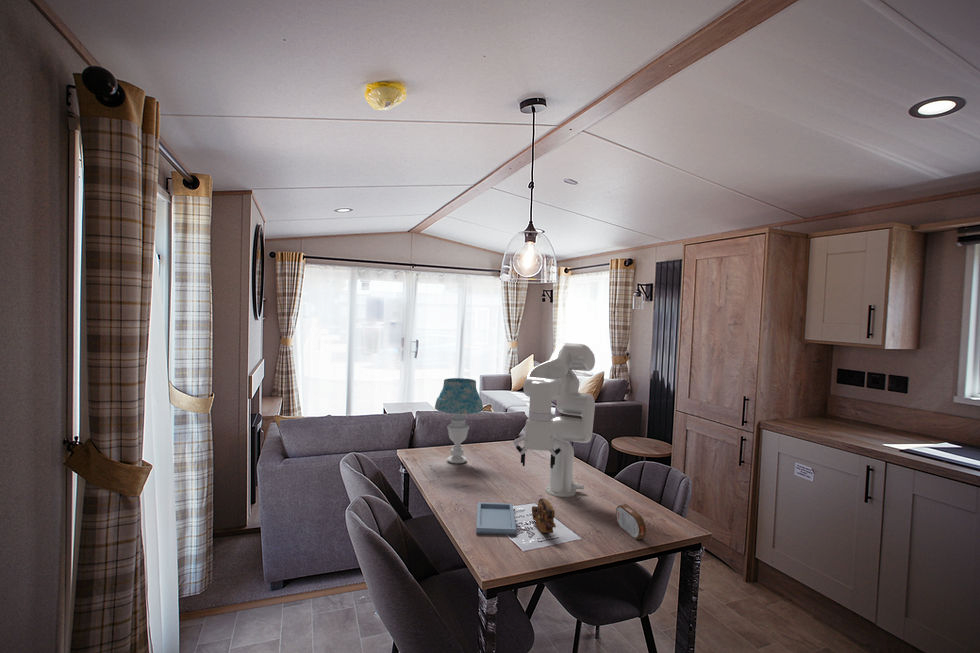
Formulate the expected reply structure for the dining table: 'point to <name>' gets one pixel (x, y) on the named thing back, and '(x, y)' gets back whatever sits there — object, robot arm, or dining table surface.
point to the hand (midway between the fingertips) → (537, 466)
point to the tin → (631, 521)
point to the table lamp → (458, 411)
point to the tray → (495, 518)
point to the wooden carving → (544, 516)
